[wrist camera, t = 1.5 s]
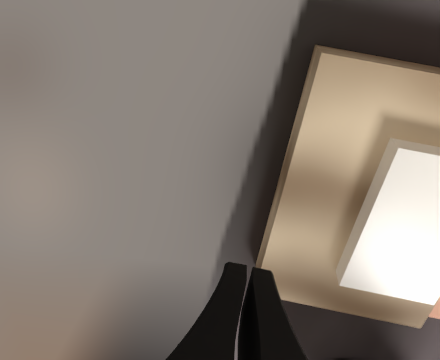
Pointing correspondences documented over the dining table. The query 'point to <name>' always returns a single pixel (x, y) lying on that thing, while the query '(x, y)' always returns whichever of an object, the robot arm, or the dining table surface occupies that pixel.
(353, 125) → the board
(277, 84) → the dining table surface
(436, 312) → the mat
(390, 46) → the dining table surface
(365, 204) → the card
